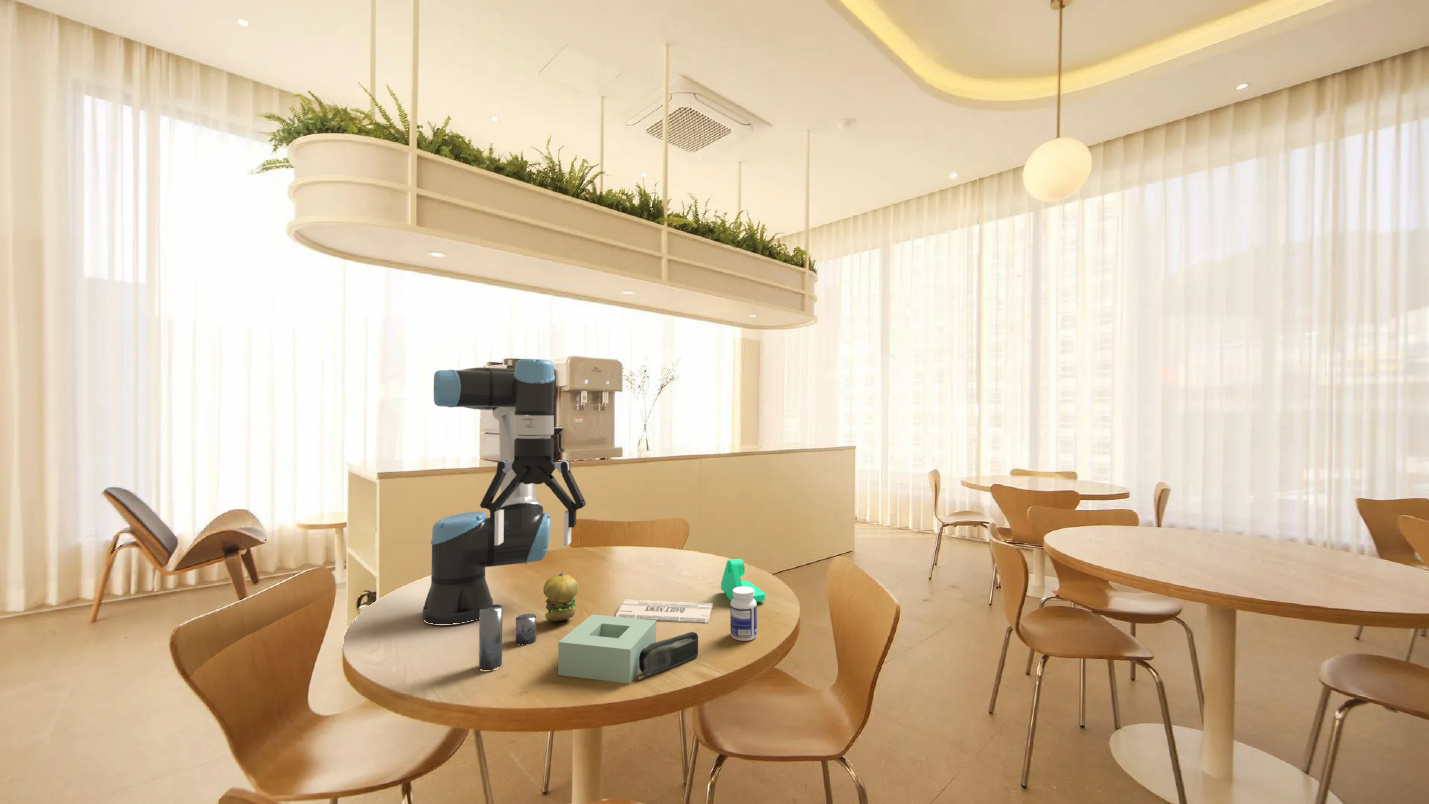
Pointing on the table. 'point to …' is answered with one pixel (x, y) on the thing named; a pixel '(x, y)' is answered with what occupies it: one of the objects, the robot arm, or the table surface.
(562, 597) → the hamburger
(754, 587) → the camera mount
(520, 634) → the short pin
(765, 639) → the table surface
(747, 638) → the pill bottle
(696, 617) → the newspaper
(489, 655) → the long pin
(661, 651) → the mobile phone
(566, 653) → the guide block
